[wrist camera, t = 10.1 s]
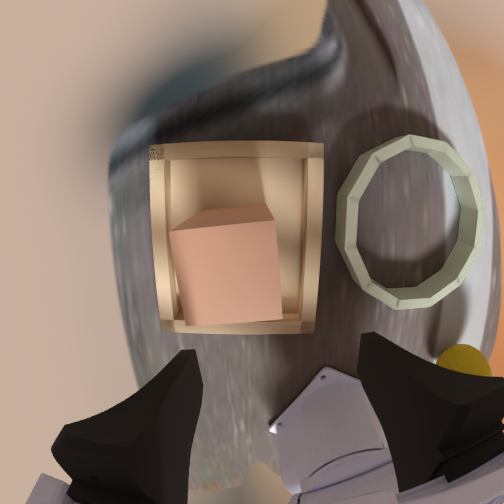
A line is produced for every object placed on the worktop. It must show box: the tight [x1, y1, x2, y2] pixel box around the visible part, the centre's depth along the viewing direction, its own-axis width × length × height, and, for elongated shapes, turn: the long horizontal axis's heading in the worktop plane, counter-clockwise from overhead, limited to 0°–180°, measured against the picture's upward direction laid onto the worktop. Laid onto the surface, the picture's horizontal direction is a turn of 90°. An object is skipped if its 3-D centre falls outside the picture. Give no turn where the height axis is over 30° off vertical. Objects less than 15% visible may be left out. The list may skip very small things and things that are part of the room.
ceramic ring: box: [335, 134, 484, 310], centre depth 20 cm, size 13×13×2 cm
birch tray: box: [150, 141, 324, 334], centre depth 20 cm, size 13×11×2 cm
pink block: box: [169, 203, 283, 326], centre depth 16 cm, size 4×4×8 cm
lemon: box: [436, 344, 492, 377], centre depth 20 cm, size 6×6×8 cm
